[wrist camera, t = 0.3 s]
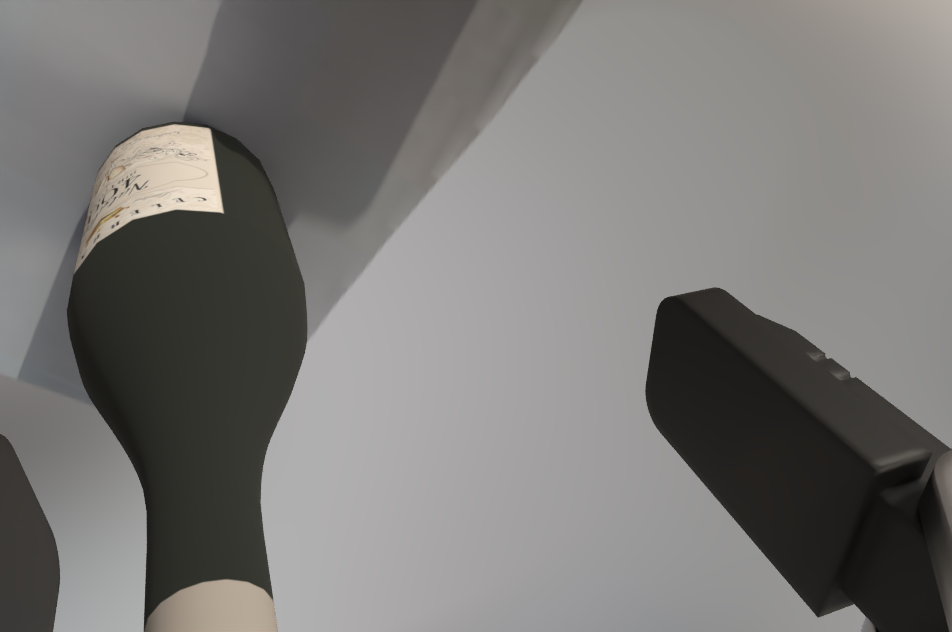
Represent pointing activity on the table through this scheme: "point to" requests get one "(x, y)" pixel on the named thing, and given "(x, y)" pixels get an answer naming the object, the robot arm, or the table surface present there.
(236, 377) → the wine bottle
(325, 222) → the table surface
